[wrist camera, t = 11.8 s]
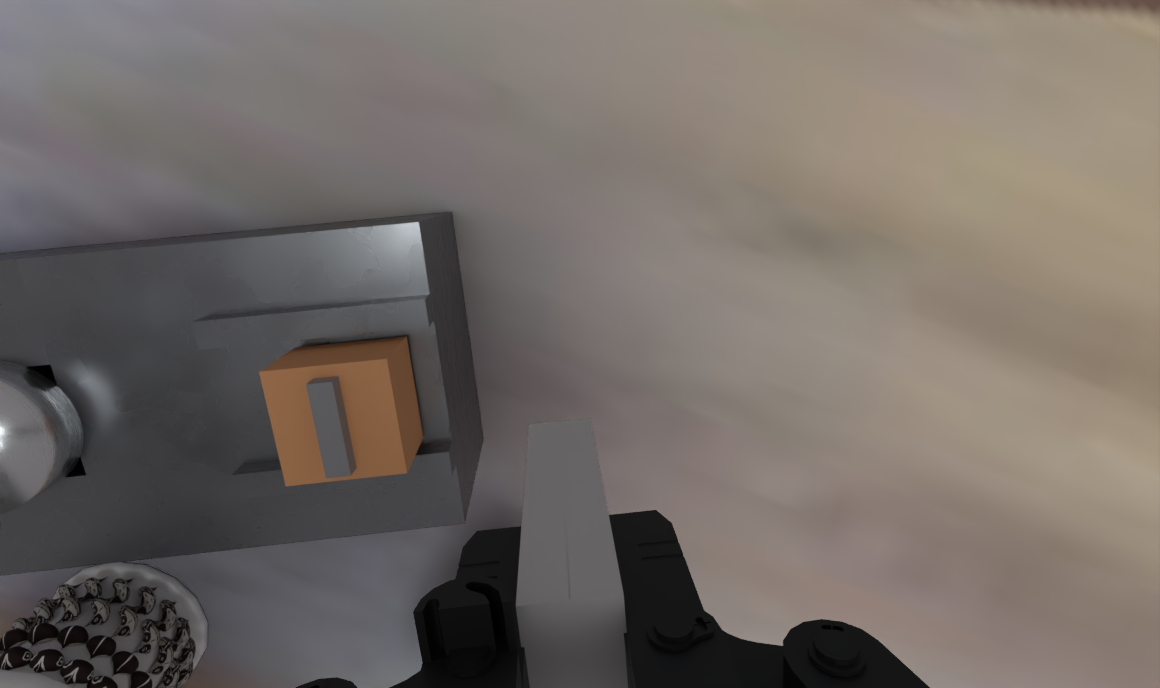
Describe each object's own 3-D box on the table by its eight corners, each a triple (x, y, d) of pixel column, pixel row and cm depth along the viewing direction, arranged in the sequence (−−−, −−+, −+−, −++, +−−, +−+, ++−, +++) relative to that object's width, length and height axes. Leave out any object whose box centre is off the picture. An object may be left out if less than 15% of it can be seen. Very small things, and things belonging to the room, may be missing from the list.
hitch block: (63, 483, 32) (-128, 603, 23) (-15, 254, 29) (-271, 287, 20) (483, 438, 33) (461, 537, 24) (451, 211, 30) (413, 223, 21)
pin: (107, 418, 31) (-88, 524, 21) (76, 319, 30) (-147, 383, 20) (212, 407, 31) (65, 508, 22) (186, 308, 30) (17, 367, 20)
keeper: (317, 448, 23) (278, 495, 20) (295, 347, 22) (250, 377, 19) (423, 437, 23) (403, 481, 20) (406, 336, 22) (382, 364, 19)
